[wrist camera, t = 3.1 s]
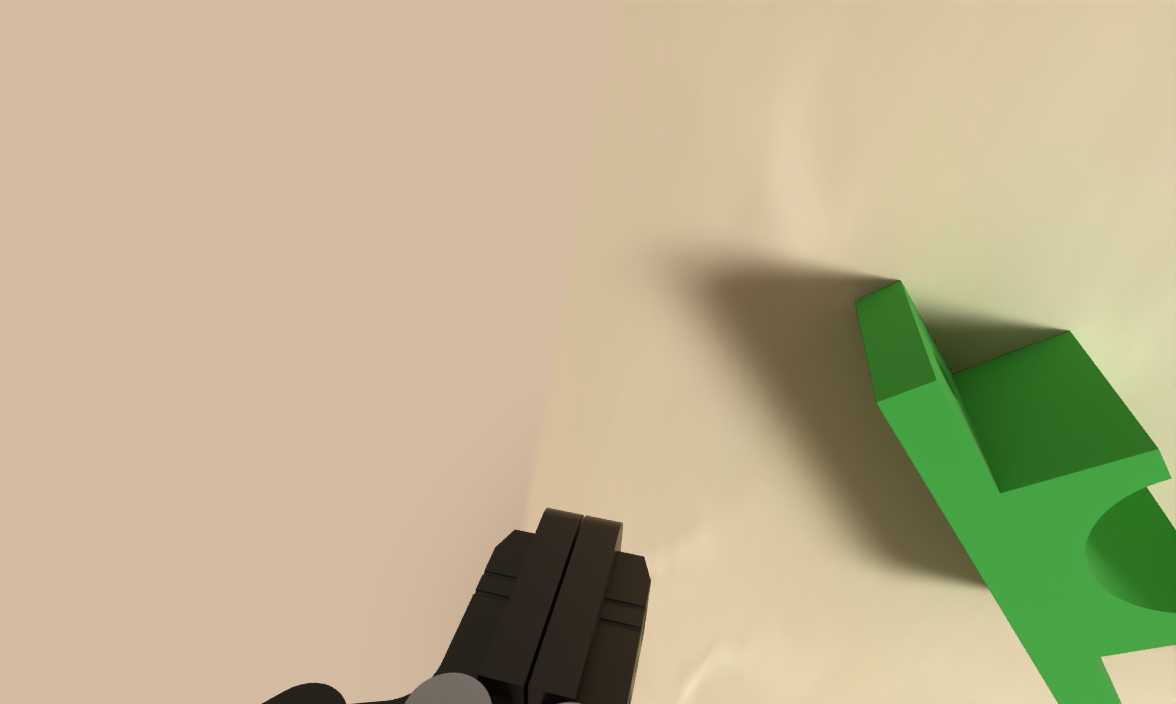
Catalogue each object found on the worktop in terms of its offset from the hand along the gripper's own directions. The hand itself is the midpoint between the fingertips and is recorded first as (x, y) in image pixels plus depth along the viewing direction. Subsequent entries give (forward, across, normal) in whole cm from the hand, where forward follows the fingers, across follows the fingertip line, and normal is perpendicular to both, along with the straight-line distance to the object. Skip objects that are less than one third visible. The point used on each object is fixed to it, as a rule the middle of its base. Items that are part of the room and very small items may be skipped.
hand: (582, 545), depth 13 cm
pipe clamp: (+7, -10, 0) cm, 12 cm away
